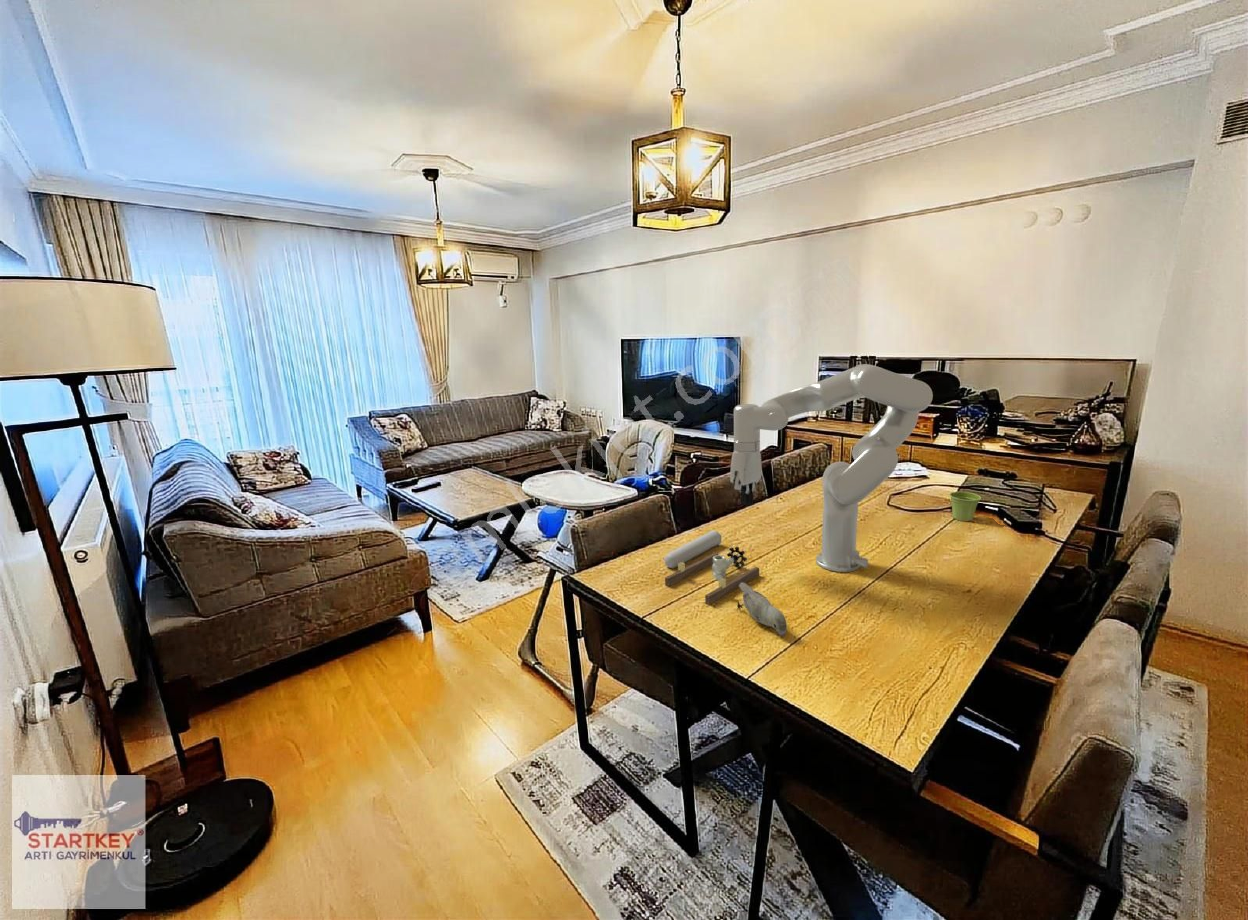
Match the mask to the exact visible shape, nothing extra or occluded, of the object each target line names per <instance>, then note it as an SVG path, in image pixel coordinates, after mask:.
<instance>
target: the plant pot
mask: <svg viewBox="0 0 1248 920" xmlns="http://www.w3.org/2000/svg"><path fill="white" fill-rule="evenodd" d="M949 497H950V500H951V511H952V512H951V513H952V515H951V516H952V518H953V519H954V520H957V521H960V522H968V521H970V522H971V521H973V519H974V516H975V512H976V509H977V506H978V504H979V502H980V500H982V496H981V495H978V494H976V493H973V492H968V491H954V492H950V493H949Z"/></svg>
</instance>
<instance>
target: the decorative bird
mask: <svg viewBox="0 0 1248 920" xmlns="http://www.w3.org/2000/svg"><path fill="white" fill-rule="evenodd" d="M739 589H740V590H741V592H743V593H742V600H743V603H742V604H740V602H739V600H738V599H737V600H736V601H737V605H736V606H737V609H736V611H738V610H741V609H743V608H744V607H745V609H746V610H747V612H748V613H749V615H750V616H751V617H752V619H753V620H755V622H757V623H759V624H762V625H765V626H767V627H772V628H773V629H774V630H775V631H776V632H777V634H778V635H779V636H780V637H782V638H784V637H785V636H786V632H787V625H788V624H787V619H786V617H785V614H784V613H783V612H782V611H780V610H779V608H777V607H775V606H773V604H772V603H771V602H770V600H769V599H768V598H767V597H766V596H764V595H763V594H762V593H760V592H758V591H757V590H754V589H753V588H752V587H751V586H750V585H748V584H747V583H743V582H741V583H740V585H739Z"/></svg>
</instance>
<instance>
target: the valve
mask: <svg viewBox="0 0 1248 920" xmlns="http://www.w3.org/2000/svg"><path fill="white" fill-rule="evenodd" d="M728 551H729V552H728V553H726V556H727V557H729V558H726V557H725V556H724V555H721V554H720V555H719V554H718V555H716V556H714V557H713V564H712V565H711V569H712V578H713V579H714V580H716V581H719V579H721V578H724V579H726V578H727V573H726V572H727V570H729V568H731V565H732V564H733V565H734V567H735V568H738V567H742V568H743V567H744V566H745V565H746V564H745V562H747V561H748V558H747V557H746V556H744V555H745V553H746V551H745V550H741V551H740V547H739V546H736V547H730V548H729V549H728ZM734 553H736V554H734ZM739 560H740V561H739Z"/></svg>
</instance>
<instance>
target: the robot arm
mask: <svg viewBox="0 0 1248 920" xmlns="http://www.w3.org/2000/svg"><path fill="white" fill-rule="evenodd" d="M933 396H934V394H933V391H932V388H931V387H930V385H929V384H927V383H926V382H924V381H922V380H919V379H915V378H912V377H909V376H906V375H902V374H899V373H896V372H893V371H891V370H888V369H885V368H883V367H879V366H877V365H873V364H869V363H868V364H867V363H866V364H865V363H862V364H859V365H856V366H852V367H851V368H848V369H846V370H844V371H841V372H839V373H836V374H834V375H832V376H830V377H827V378H825V379H822V380H819V381H817V382H814V383H811V384H808V385H806V386H802V387H800V388H797V389H792V390H789V391H788V392H785V393H783V394H780V395H778V396H775V397H772V398H771V399H768V400H767V401H764V402H763V404H761V406H759V405H757V404H754V403H753V404H752V403H743V404H738V405H736V406H735V407H734V408H733V452H732V454H731V455H732V456H731V461H730V472H729V473H730V478H729V481H730V483H731V484H734V490H736V491H737V490H738V491H739V493H740V504H741V505H743V506H747V507H751V506H752V505H754V492H755V487H756V485H757V484H758V483H759V482H760V479H761V478H762V471H763V467H762V466H763V465H762V455H761V430H763V431H772V432H775V431H780V430H782V429H783V428H785V427H786V426H787V425H788V422H789V420H790V418H792V417H795V416H797V415H801V414H804V413H811V412H825V411H829V410H832V409H834V408H836V407H839V406H842V405H844V404H846V403H850V402H851V401H854V400H855V401H856V400H857V399H860V398H866V399H868V400H871V401H872V402H876V403H879V404H882V405H885V406H886V410H885V413H884V415H883V416H882V417H881V418H880V420H879V421H877V423H876V424H875V425H874V426H873V427H872V428H871V429H870V430H869V431H868V432H867V433H866V434H864V435H863V437H861V438H860V439H859V440H858V441H857V442H856V443H855V444H854V446H853V448H852V449H851V450H852V452H851V453H852V454H851V455H852V458H853V460H854V461H852V463H848V462H845V461H835V462H833V463H831V464H829V465H828V466H827V467H826V468H825V470H824V472H823V475H822V495H823V496H822V497H823V500H822V502H823V503H822V505H823V506H822V527H821V528H822V534H821V552H820V553H818V554H817V555H816V556H815V563H816V564H817V565H818V566H820V567H821V568H823V569H825V570H829V571H832V572H838V573H849V572H854V571H857V570H859V569H860V568H865V569H867V568H868V567H869V561H868V560H869V559H868V558H867V557H862V556H861V555H860V550H857V549H856V548H857V532H858V515H859V514H858V513H859V503H860V502H862V501H863V500H865V498H867V497H868V496H869V495H870V494H872V493H873V492H874V491H875V490H876V489H877V488H878V487H879V486H881V484H882V483H883V482H885V481H886V480H887V479H888V478H889V477H890V476H891V475H892V474H893V472H895V469H896V468H897V465H898V462H899V456H898V455H899V454H898V452H897V449H898V448H899V447H900V446H901V445H902V444H903V443H904V442H905V441H906V439H908V437H910V436H911V434H912V433H913V431H914V430H915V428H916V426H917V423H918V420H919V416H920V415H919V414H920V412H922V411H925V410H926V409H927V408H928V407H929V406H930V405H931V403H932V401H933Z"/></svg>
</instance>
